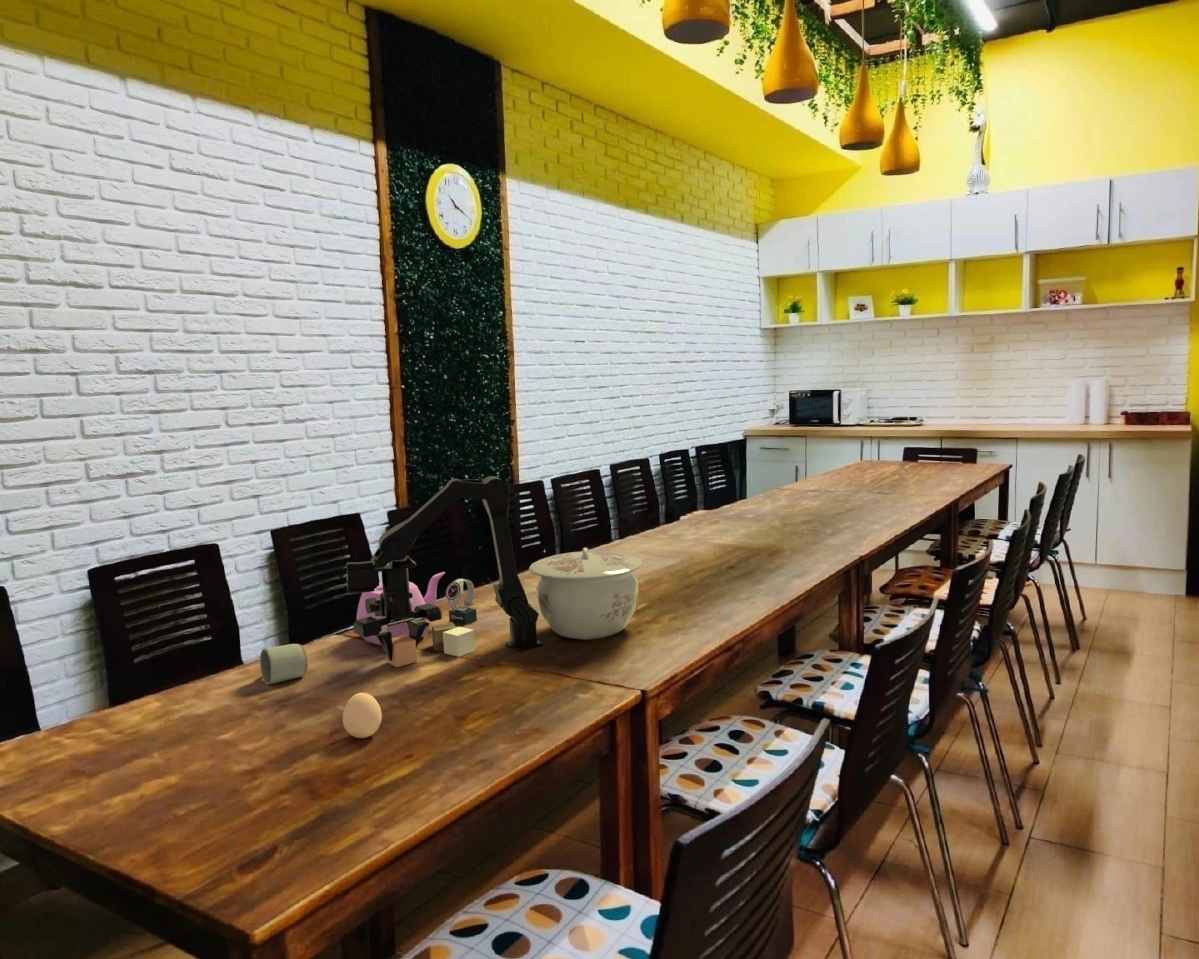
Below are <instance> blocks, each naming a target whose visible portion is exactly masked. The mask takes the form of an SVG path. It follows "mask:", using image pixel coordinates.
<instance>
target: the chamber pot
mask: <svg viewBox="0 0 1199 959" xmlns="http://www.w3.org/2000/svg"><path fill="white" fill-rule="evenodd" d="M643 566H644V561H643V559H642V558H639V557H638V556H636V555H632V554H628V553H624V552H619V551H611V550H608V551H606V550H605V551H604V550H589V548H588V547H582V550H581V551H573V552H572V551H571V552H565V553H559V554H554V555H551V556H550V555H549V556H547V557H544V558H541V559H538V560H537V561H535V562H532V563H531V564H530V566H529V568H528V570H529V571H530V572H531V574H533V575H535V576H538V577H539V578H540V579H539V581H538V582H537V584H536V587H535V594H536V595H535V596H536V602H537V604H538V609H539V612H540V614H541V615H542V617H543V619H544V620H545V621H546V623H547V624H548V626H549V627H550V628H551V630H552V631H553V632H554V633H555V634H556V635H558V636H561V637H564V638H569V639H573V640H578V641H579V640H580V641H587V640H589V641H591V640H600V639H603V638H608V637H610V636H613V635H615V634H618V633H620V632H621V631H624V629H625V628H626V627H627V626H628V624H629V622H630V621H631V619H632V617H633V615H634V613H635V611H636V609H637V608H636V607H637V602H638V596H639V595H638V594H639V581H638V579H637V578H636V576H635V574H634V572H636V571H637V570H640V568H642V567H643Z"/></svg>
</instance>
